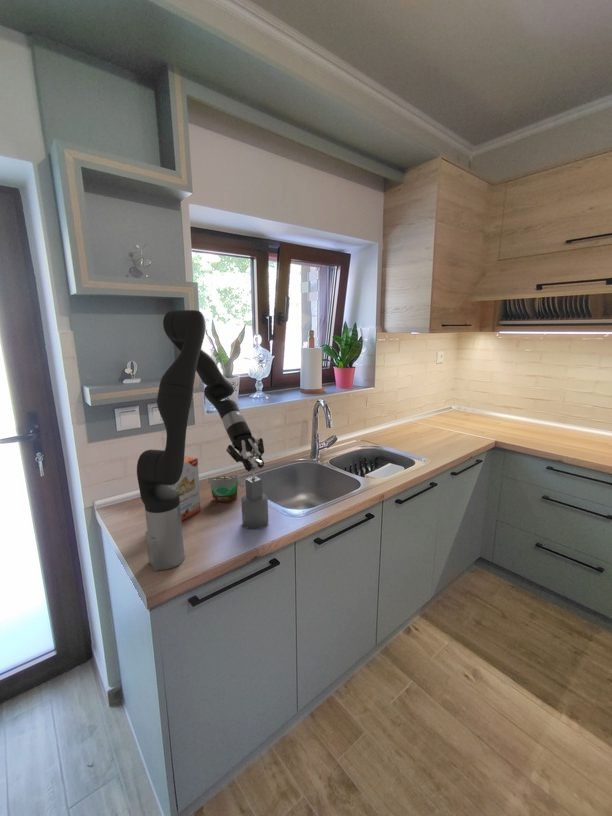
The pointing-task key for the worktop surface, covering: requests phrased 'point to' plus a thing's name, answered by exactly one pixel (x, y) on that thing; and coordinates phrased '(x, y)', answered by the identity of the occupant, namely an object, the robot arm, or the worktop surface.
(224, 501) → the food container
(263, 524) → the soap bottle
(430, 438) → the worktop surface
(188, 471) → the cracker box
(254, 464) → the pump head
